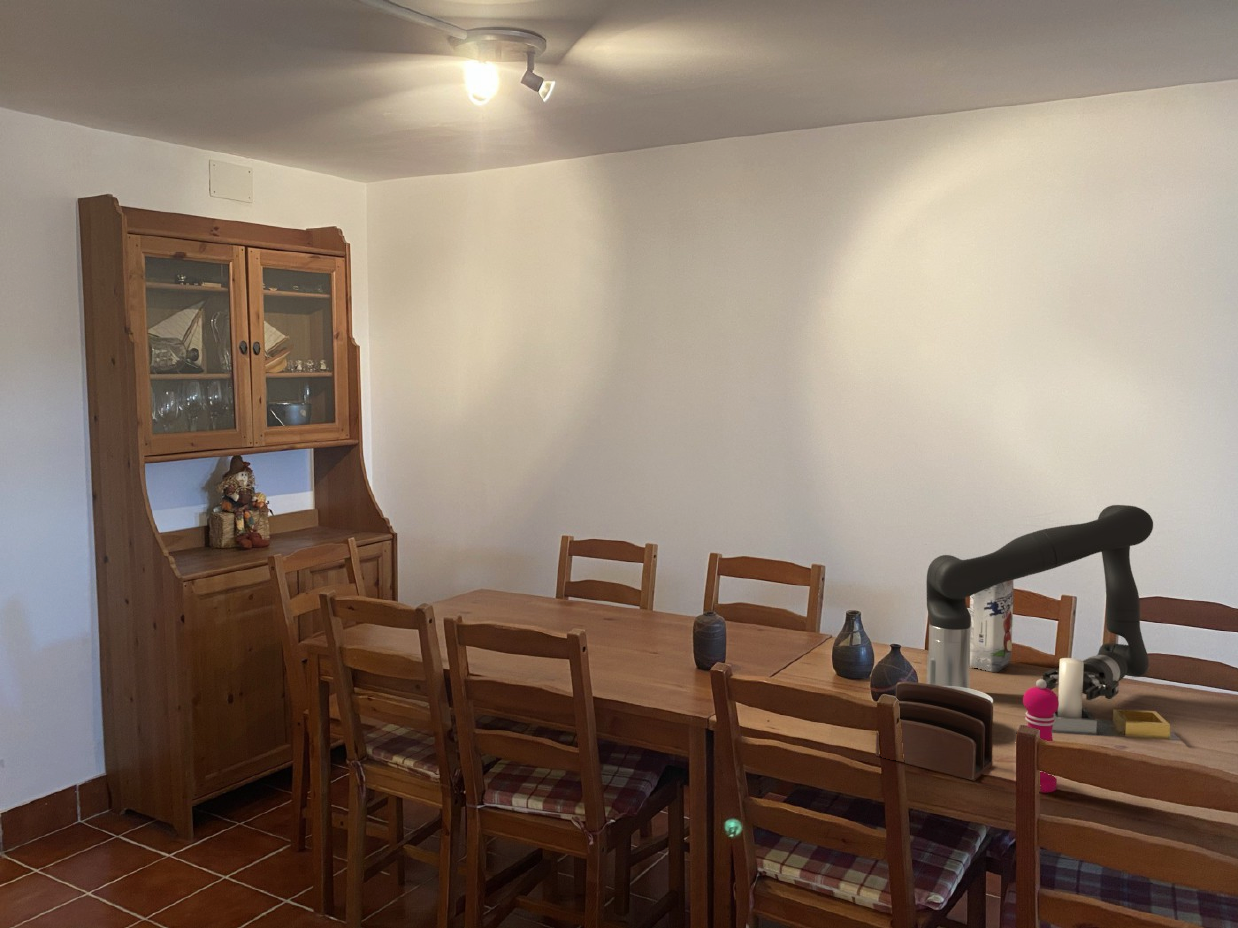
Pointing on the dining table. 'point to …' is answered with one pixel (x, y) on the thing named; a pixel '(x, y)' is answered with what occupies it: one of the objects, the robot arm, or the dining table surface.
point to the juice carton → (991, 627)
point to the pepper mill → (1042, 721)
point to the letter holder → (945, 729)
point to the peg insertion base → (1117, 725)
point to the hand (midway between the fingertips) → (1067, 690)
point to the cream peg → (1070, 688)
